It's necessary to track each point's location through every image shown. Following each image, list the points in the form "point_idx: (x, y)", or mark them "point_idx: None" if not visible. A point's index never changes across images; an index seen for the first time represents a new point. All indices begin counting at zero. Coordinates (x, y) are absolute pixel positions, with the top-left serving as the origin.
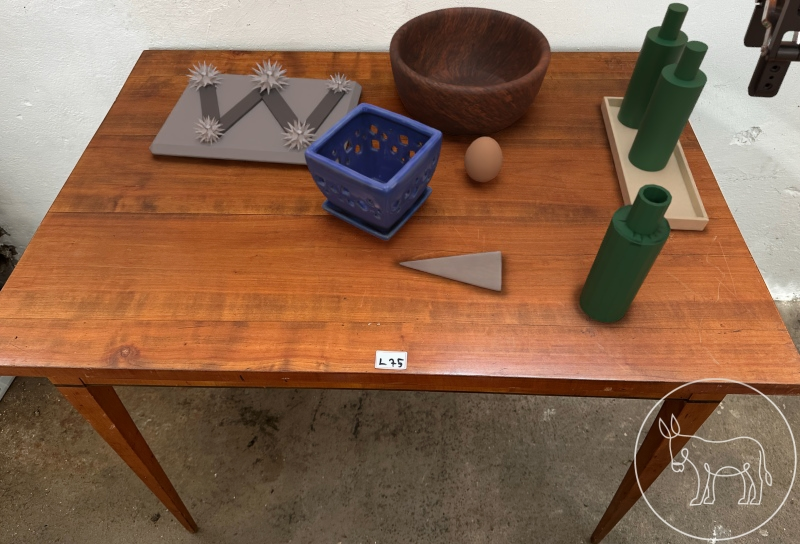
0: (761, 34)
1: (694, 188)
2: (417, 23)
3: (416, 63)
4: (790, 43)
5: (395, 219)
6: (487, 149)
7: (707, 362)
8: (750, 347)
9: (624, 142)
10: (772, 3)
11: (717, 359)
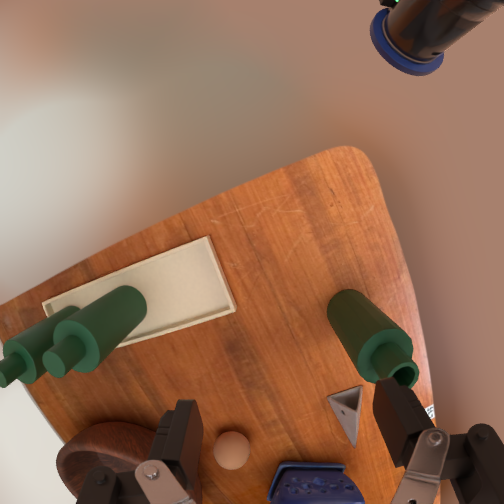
0: (194, 430)
1: (161, 257)
2: None
3: None
4: (460, 465)
5: (338, 474)
6: (238, 461)
7: (375, 214)
8: (345, 179)
9: None
10: None
11: (369, 206)
